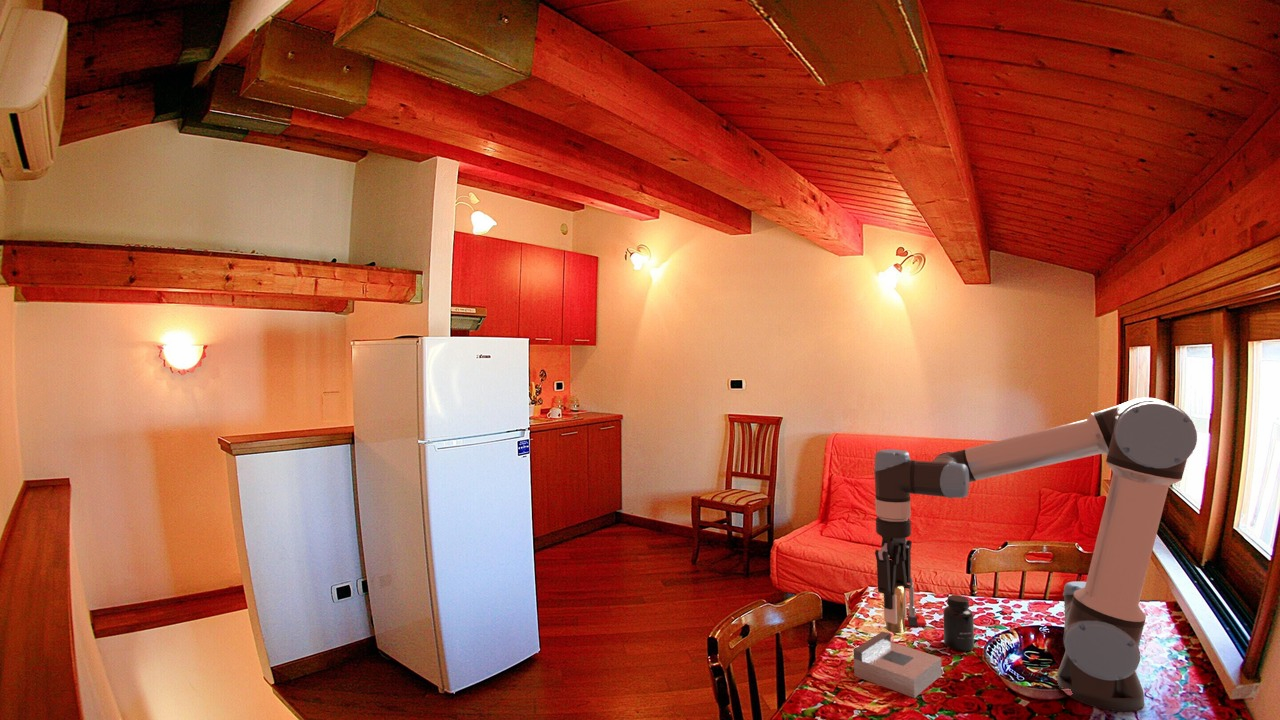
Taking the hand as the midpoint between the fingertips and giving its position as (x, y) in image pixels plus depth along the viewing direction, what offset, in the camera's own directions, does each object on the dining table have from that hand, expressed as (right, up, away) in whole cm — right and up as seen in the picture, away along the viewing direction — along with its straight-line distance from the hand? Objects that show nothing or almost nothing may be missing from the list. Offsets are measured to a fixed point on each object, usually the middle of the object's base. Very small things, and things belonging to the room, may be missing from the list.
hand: (895, 618), depth 148 cm
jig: (0, -13, 0) cm, 13 cm away
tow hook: (+16, -13, +30) cm, 37 cm away
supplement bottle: (+22, -13, +14) cm, 29 cm away
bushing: (0, -2, 0) cm, 2 cm away
